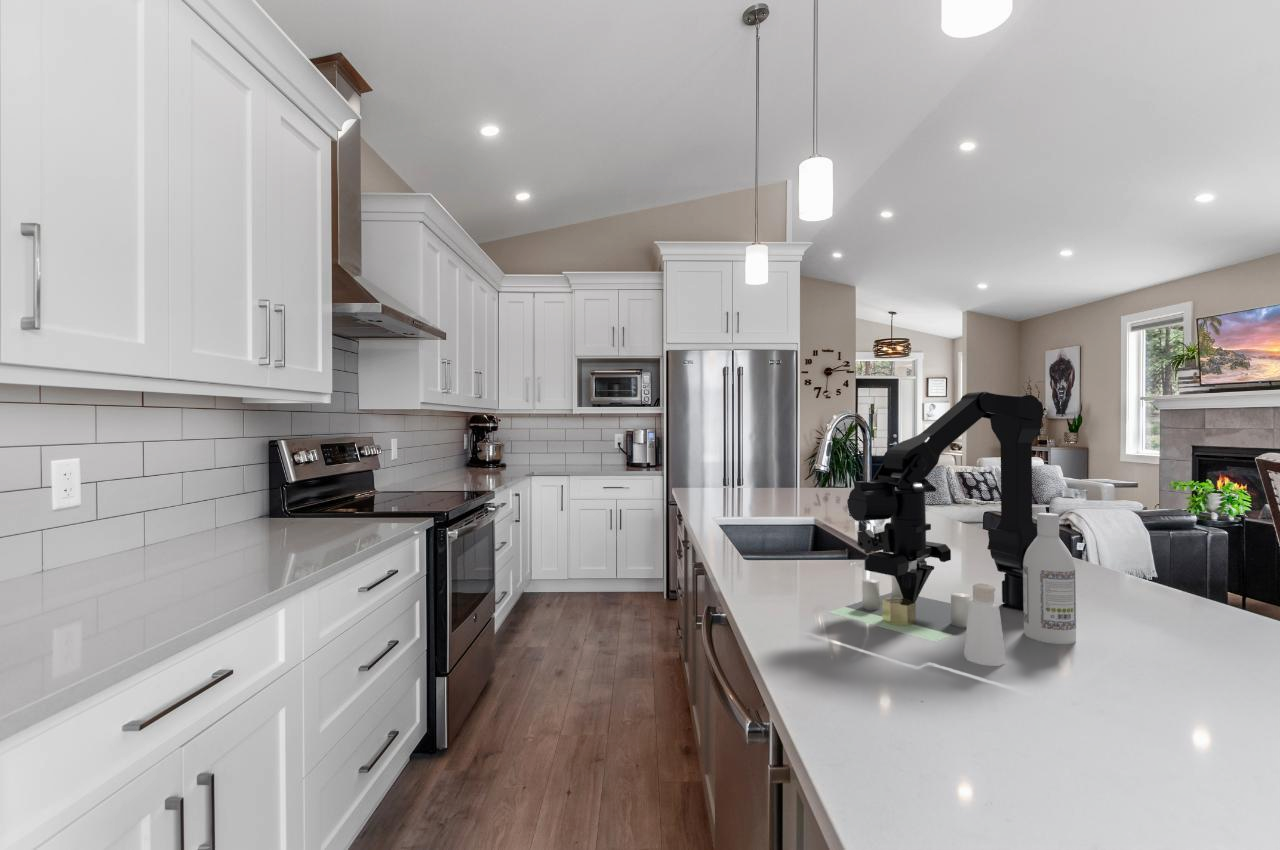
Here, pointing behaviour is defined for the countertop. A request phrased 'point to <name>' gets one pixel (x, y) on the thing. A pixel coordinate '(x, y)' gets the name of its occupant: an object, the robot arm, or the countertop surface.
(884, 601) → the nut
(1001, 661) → the pepper shaker
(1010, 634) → the countertop surface
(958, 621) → the cylinder
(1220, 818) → the countertop surface
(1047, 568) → the bath foam
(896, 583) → the cylinder
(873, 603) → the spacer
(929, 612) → the mat
